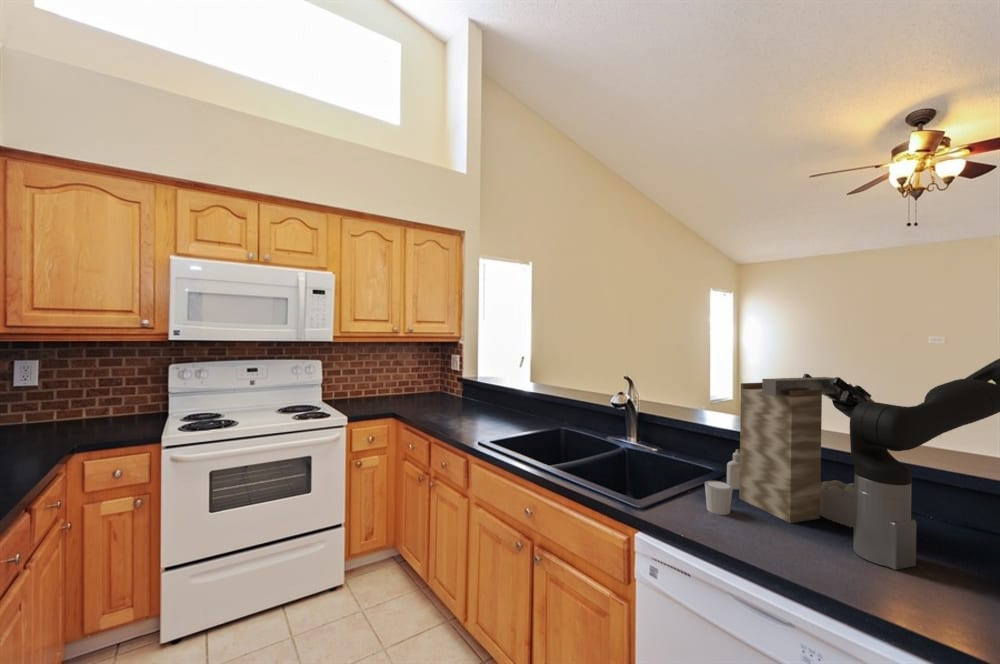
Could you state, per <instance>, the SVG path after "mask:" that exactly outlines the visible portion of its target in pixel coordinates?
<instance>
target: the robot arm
mask: <svg viewBox="0 0 1000 664" xmlns="http://www.w3.org/2000/svg"><path fill="white" fill-rule="evenodd" d="M808 377H812V376H811V375H810V374H809V373H804V374H803V376H802V378H808ZM834 378H835V379H834V381H833V385H835V386H836V387H837V388H839V389H840V393H838V394H822V396H823V397H827V398H828V399H829V400H831V401H832V404H833V406H834V408H835V409H836V410H838V411H839V412H841V413H842V414H843V415H845V416H846V417H847V418H848V419H849V440H850V441H849V442H850V445H849V446H850V458H851V462H852V464H853V466H854V482H853V483H854V528H853V539H852V540H853V546H852V547H853V552H854V553H855V555H857V556H859V557H860V558H862V559H864V560H866V561H869V562H870V563H874V564H877V565H880V566H884V567H887V568H890V569H892V570H895V571H897V570H900V569H901V570H902V569H907V568H910V567H911V568H912V567H916V565H917V521H916V520H915V519H913V518H912V484H913V483H912V480H913V479H912V478H913V473H912V470H911V469H910V468H909V467H908V466H906V464H903V462H900V461H899V460H898V459H896V458H895V457H894V456H893V455H892V454H891V453H890V452H889V451H892V452H902V451H911V450H913V449H916V448H918V447H920V446H922V445H924V444H926V443H928V442H929V441H931V440H933V439H935V438H937V437H939V436H941V435H942V434H945V433H947V432H948V433H949V432H950V431H954V430H956V429H957V428H961V427H963V426H966V425H969V424H972V423H973V424H974V423H976V422H978V421H981V420H984V419H986V418H989V417H992V416H994V415H996V414H1000V358H998V359H996V360H994V361H992V362H990V363H988V364H987V365H985V366H983V367H982V368H980V369H978V370H976V371H975V372H973V373H971V374H970V375H968V376H967V377H965V378H959V379H954V380H951V381H947V382H945V383H942V384H939V385H936V386H935V387H933V388H931V389H930V390H929V391H928V392H927V393H926V395H925V397H924V400H923V402H921V403H918V405H914V406H913V405H912V406H904V405H903V406H902V405H896V404H889V403H884V402H883V403H882V402H876V401H874V399H872V395H871V394H870V393H869V392H868V391H867V390H865V389H864V388H863V387H862V386H860V385H857V384H856V385H854V386H853V384H852V383H848V382H847V381H845V380H844V379H842V378H841V377H838V376H837V377H834ZM990 381H993V382H994V383H993V382H990Z"/></svg>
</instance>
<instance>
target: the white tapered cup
mask: <svg viewBox="0 0 1000 664" xmlns="http://www.w3.org/2000/svg"><path fill="white" fill-rule="evenodd" d="M704 489H705V490H704V492H705V503H706V510H707V511H708V512H709V513H712V514H716V515H720V516H726V515H730V514H731V507H732V506H731V505H732V497H733V491H734V490H733V486H731V485H730V484H727V482H723V481H718V480H708V481H704Z"/></svg>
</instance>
